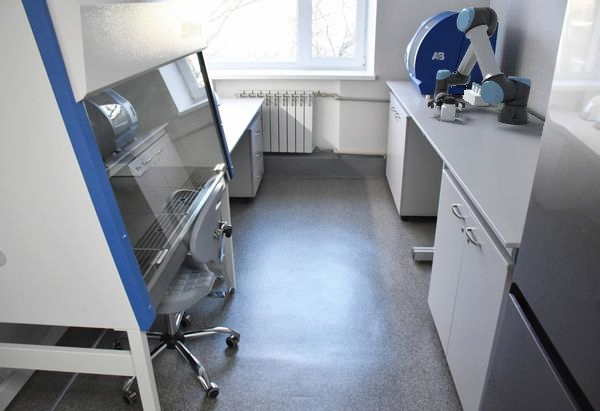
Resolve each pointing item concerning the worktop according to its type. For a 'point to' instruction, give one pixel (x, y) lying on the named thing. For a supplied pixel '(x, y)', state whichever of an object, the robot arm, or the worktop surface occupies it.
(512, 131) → the worktop surface
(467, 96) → the tube rack
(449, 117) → the medicine bottle
